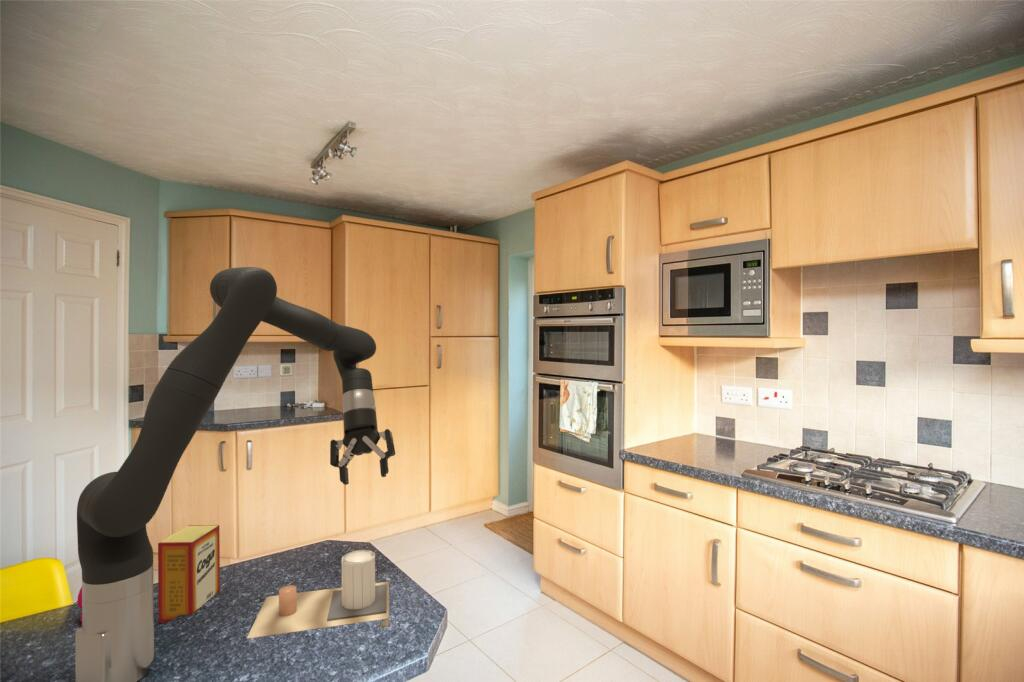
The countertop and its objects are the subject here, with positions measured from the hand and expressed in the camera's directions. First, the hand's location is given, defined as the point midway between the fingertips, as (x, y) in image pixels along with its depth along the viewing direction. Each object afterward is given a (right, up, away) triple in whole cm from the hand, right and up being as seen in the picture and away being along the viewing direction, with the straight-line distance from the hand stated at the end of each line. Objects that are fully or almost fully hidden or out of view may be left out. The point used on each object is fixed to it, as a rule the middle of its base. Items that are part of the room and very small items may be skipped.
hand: (364, 480), depth 110 cm
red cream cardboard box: (-33, -24, -9) cm, 42 cm away
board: (-5, -24, -11) cm, 27 cm away
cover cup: (+2, -22, -10) cm, 24 cm away
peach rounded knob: (-11, -22, -13) cm, 28 cm away
